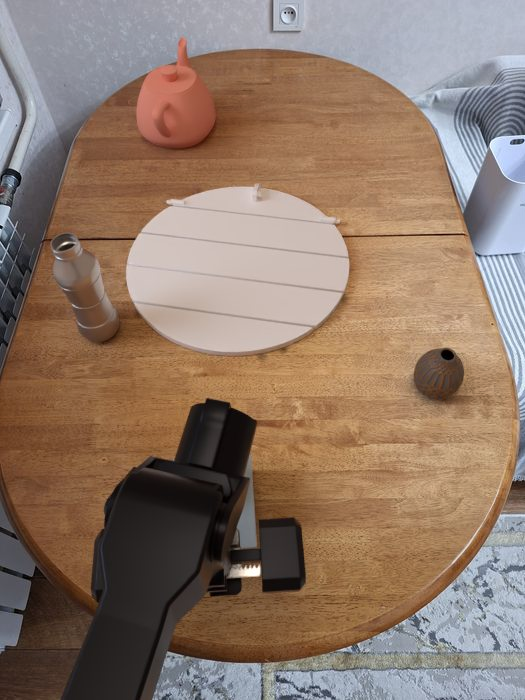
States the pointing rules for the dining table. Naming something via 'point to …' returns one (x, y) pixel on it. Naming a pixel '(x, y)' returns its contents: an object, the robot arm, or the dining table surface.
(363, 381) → the dining table surface
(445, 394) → the vase
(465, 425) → the dining table surface
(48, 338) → the dining table surface
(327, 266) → the lazy susan
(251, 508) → the cistern
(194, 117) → the teapot
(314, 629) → the dining table surface
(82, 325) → the plastic bottle
